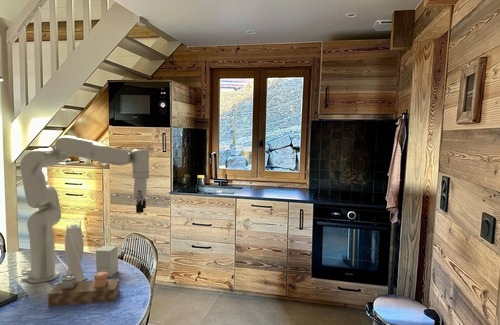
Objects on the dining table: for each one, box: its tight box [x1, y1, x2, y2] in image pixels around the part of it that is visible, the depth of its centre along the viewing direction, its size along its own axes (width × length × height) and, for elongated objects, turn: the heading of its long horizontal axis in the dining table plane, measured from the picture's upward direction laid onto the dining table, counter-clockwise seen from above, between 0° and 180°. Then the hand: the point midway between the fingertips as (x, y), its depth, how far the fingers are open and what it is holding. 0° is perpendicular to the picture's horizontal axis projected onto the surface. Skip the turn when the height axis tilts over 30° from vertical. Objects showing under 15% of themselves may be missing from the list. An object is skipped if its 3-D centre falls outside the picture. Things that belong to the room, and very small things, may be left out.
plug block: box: [47, 278, 120, 308], centre depth 133 cm, size 24×10×5 cm, turn 101°
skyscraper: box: [64, 221, 88, 282], centre depth 147 cm, size 8×8×28 cm
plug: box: [61, 273, 77, 290], centre depth 131 cm, size 5×5×6 cm
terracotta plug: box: [93, 272, 109, 288], centre depth 133 cm, size 5×5×6 cm
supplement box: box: [95, 245, 119, 278], centre depth 156 cm, size 7×7×13 cm
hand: (141, 210), depth 157 cm, fingers open, 9 cm apart
